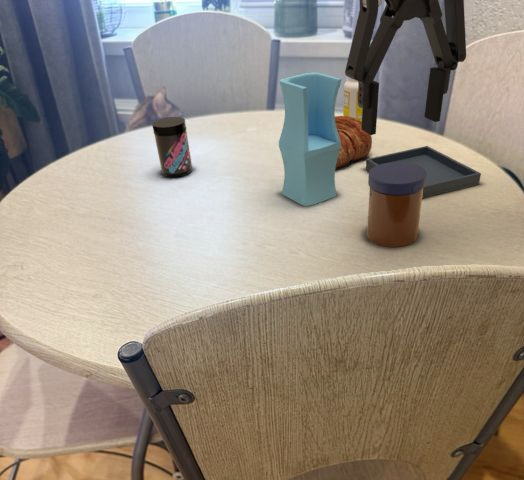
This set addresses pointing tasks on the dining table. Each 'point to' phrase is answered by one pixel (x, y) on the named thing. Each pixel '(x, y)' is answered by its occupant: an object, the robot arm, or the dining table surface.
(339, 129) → the pastry
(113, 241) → the dining table surface
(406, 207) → the jar
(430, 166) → the tray
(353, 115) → the supplement bottle
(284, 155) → the blue toy chair
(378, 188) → the lid
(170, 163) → the supplement container
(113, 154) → the dining table surface
